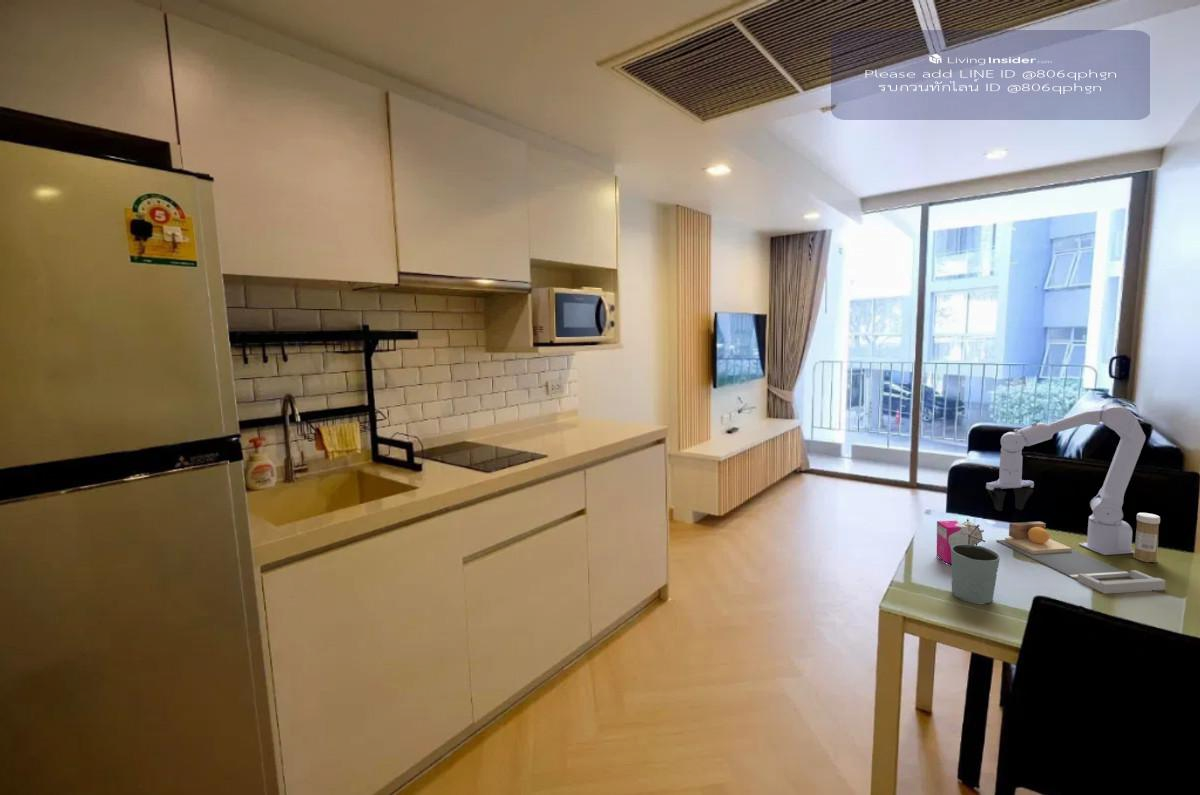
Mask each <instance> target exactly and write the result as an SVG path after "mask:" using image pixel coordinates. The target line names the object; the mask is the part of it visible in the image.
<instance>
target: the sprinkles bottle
mask: <svg viewBox="0 0 1200 795" xmlns="http://www.w3.org/2000/svg"><path fill="white" fill-rule="evenodd" d="M1160 523H1161V516H1159V515H1157V514H1154V513H1148V512H1138V513H1137V514H1136V532H1135V541H1134V542H1135V543H1134V547H1135V548H1134V555H1133V558H1134V559H1135V558H1136V560H1137V559H1138V561H1140V560H1141V561H1140V562H1143V561H1147V562H1146V563H1149V562H1154V563H1157V562H1156V561H1158V560H1157V555H1158V548H1159V547H1158V546H1159V527H1160Z"/></svg>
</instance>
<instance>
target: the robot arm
mask: <svg viewBox="0 0 1200 795" xmlns="http://www.w3.org/2000/svg"><path fill="white" fill-rule="evenodd" d="M1101 423H1103V424H1104V426H1106V427H1108V428H1109V429H1110V430H1112V431H1114V432H1115V434H1117V435H1118V436H1119V437H1120V440H1119V443H1118V445H1117V446H1116V450H1115V453H1114V454H1113V457H1112V461H1111V463H1110V466H1109V469H1108V471H1107V473H1106V476H1105V479H1104V481H1103V485H1102V487H1100V489H1099V491H1098V493H1097V494H1096V496H1094V497H1092V499H1091V500H1090V502H1089V505H1090V506H1089V507H1090V508H1091V511H1092V514H1091V515H1089V516H1088V523H1087V525H1088V526H1087V538H1086V539H1087V541H1086V542H1078V545H1079V546H1081V547H1083V548H1086V549H1089V550H1091V551H1093V552H1096V553H1098V554H1101V555H1103V556H1108V555H1110V556H1111V555H1124V554H1125V555H1126V554H1135V550H1132V543H1133V528H1132V526H1131V525H1130V524H1129V523H1128V522H1127V521H1125V520H1123V518H1124V512H1123V509H1122V508H1123V505H1124V497H1125V494H1126V490H1127V488H1128V486H1129V482H1130V481H1131V478H1132V475H1133V473H1134V469H1135V468H1136V464H1137V461H1138V460H1139V457H1140V454H1141V451H1142V449H1143V446H1144V444H1145V442H1146V434H1145V433H1144V431H1143V428H1142V426H1141V424H1140V423H1139V420H1138V418H1137V417H1136V416H1135V415H1134V414H1133V413H1132V412H1131V411H1130V410H1128V409H1127V408H1126V407H1125V406H1123V405H1122V404H1119V403H1115V402H1113V403H1112V402H1111V403H1106V404H1104V405H1102V406H1100V405H1099V406H1093V407H1092V408H1088V409H1085V410H1082V411H1079V412H1077V413H1074V414H1071V415H1069V416H1066V417H1063V418H1061V419H1058V420H1055V421H1053V422H1050V423H1046V422H1042V421H1041V422H1037V421H1034V422H1031V424H1030V425H1029V426H1025V427H1022V428H1019V429H1018V428H1014V429H1013V431H1008V432H1006V433H1003V435H1002V436H1001V438H1000V441H999V442H1000V445H1001V448H1000V454H999V472H998V473H999V474H998V476H999V478H998V479H997V480H995V481H991V482H986V483H985V484H986V485H985V489H986V490H987V492H988V493H989V495H990V497H991V500H992V502H993V507H994V509H995V510H996V511H999V512H1002V511H1003V508H1004V501H1005V496H1006V495H1007V492H1006V491H1004V490H1003V489H1013V493H1014V507H1015V509H1018V510H1020V511H1021V510H1024V508H1025V504H1026V503H1027V500H1028V499H1029V498H1030V496H1031V495H1032V494H1033V493H1034V490H1033V488H1034V487H1035V482H1034V481H1033V480H1030V479H1029V480H1028V479H1027V480H1026V479H1025V480H1024V479H1023V478H1022V477H1023V476H1022V475H1023V457H1024V456H1023V455H1022V453H1023V452H1022V450H1023V449H1024V447H1031V446H1034V445H1036V444H1039V443H1042V442H1045V441H1049V440H1052V439H1053V436H1054V435H1055V434H1057V433H1059V432H1064V431H1067V430H1070V429H1073V428H1078V427H1081V426H1084V425H1091V426H1097V427H1098V426H1101V425H1102V424H1101Z"/></svg>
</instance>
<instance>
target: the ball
mask: <svg viewBox="0 0 1200 795" xmlns="http://www.w3.org/2000/svg"><path fill="white" fill-rule="evenodd" d="M1028 537H1029V538H1030V540H1031V541H1033V542H1035V543H1038V544H1043V543H1046V542H1047V541H1048V540H1049V539H1050V534H1049V532H1048V531H1047V530H1046V528H1045V529H1043V528H1041V527H1033V528H1031V529H1030V530H1029V531H1028Z"/></svg>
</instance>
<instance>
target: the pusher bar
mask: <svg viewBox="0 0 1200 795" xmlns="http://www.w3.org/2000/svg"><path fill="white" fill-rule="evenodd" d="M1033 527H1041V528H1043V529H1045V530H1046V523H1045V522H1043V521H1025V522H1011V523H1009V527H1008V528H1009V530H1008V537H1012V538H1029V537H1028V531H1029V530H1030V529H1031V528H1033Z"/></svg>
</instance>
